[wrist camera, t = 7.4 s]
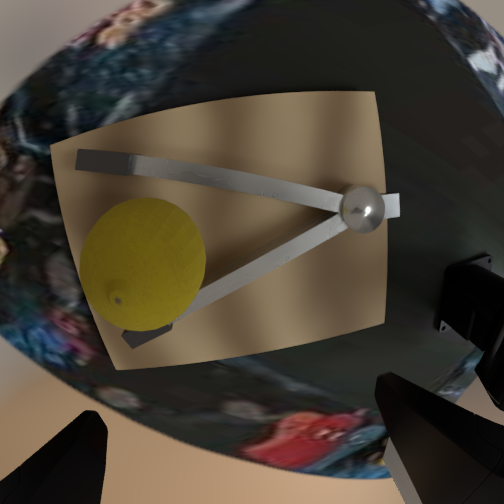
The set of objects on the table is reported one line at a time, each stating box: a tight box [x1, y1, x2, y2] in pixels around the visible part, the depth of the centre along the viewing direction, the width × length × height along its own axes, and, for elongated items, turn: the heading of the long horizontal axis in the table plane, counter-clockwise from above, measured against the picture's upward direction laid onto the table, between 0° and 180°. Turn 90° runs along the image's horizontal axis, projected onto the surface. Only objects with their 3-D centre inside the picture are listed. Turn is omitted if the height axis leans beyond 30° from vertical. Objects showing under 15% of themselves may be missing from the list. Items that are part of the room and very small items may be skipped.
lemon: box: [79, 197, 206, 331], centre depth 13 cm, size 6×6×8 cm
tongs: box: [75, 149, 400, 349], centre depth 16 cm, size 17×12×2 cm
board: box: [50, 91, 388, 370], centre depth 18 cm, size 20×16×1 cm
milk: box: [383, 437, 422, 504], centre depth 18 cm, size 6×6×22 cm
